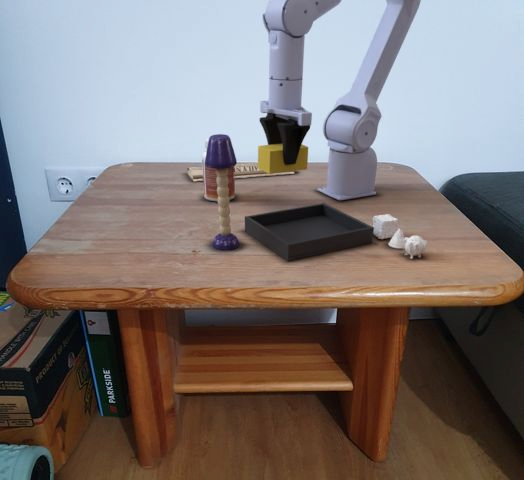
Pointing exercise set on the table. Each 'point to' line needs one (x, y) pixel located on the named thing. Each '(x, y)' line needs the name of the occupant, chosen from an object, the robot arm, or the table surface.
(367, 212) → the table surface
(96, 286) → the table surface
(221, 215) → the toy lamp
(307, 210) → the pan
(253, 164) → the newspaper
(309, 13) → the robot arm
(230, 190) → the pill bottle
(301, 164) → the sponge
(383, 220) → the game pieces
